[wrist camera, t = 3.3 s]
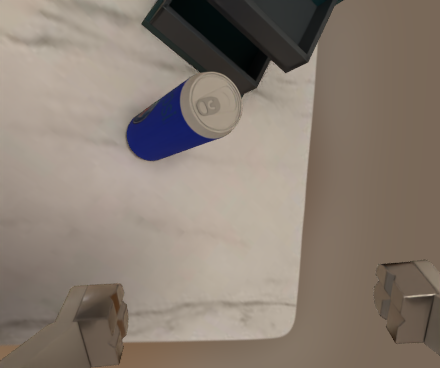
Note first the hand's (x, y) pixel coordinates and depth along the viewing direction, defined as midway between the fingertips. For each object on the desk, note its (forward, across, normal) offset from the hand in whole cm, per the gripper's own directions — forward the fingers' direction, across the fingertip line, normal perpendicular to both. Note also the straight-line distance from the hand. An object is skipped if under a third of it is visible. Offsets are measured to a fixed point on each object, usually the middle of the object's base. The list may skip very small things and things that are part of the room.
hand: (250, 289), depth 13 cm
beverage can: (+31, +8, +5) cm, 32 cm away
